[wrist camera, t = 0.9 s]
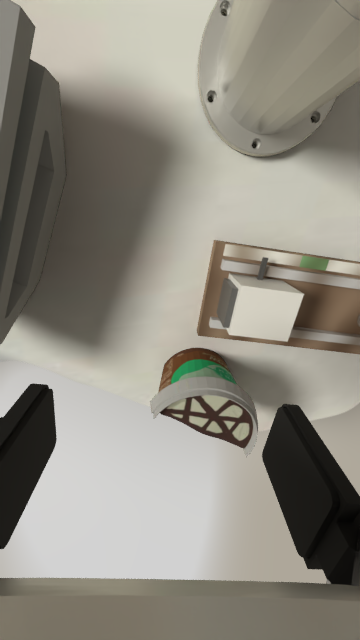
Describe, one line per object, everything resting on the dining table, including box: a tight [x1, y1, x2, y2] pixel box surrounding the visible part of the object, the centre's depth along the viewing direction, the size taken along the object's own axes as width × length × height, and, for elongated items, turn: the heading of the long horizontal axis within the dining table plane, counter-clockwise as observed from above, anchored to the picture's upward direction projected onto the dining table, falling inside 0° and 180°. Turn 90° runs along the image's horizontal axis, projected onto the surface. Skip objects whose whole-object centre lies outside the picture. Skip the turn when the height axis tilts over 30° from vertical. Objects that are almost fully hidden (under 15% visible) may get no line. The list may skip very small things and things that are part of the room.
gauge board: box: [197, 240, 360, 354], centre depth 28 cm, size 24×11×6 cm, turn 82°
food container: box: [150, 348, 258, 457], centre depth 29 cm, size 12×6×10 cm, turn 60°
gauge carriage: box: [216, 257, 304, 342], centre depth 26 cm, size 7×7×5 cm
